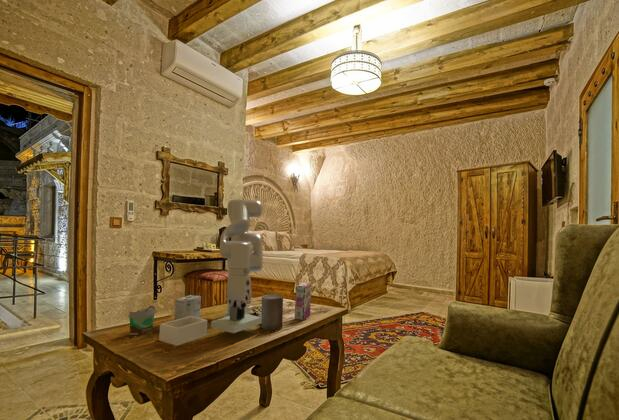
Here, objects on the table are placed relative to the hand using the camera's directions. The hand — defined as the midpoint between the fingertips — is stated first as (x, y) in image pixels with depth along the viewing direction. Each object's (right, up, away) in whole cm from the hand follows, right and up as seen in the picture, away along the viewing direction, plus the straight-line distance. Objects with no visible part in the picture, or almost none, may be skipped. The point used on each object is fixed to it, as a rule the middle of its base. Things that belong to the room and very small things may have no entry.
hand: (237, 317), depth 129 cm
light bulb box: (-28, -8, +20) cm, 35 cm away
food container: (-38, -7, 0) cm, 38 cm away
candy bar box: (+26, -11, +31) cm, 42 cm away
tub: (-20, -7, -6) cm, 22 cm away
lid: (0, -3, 0) cm, 3 cm away
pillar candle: (+12, -9, +13) cm, 20 cm away
